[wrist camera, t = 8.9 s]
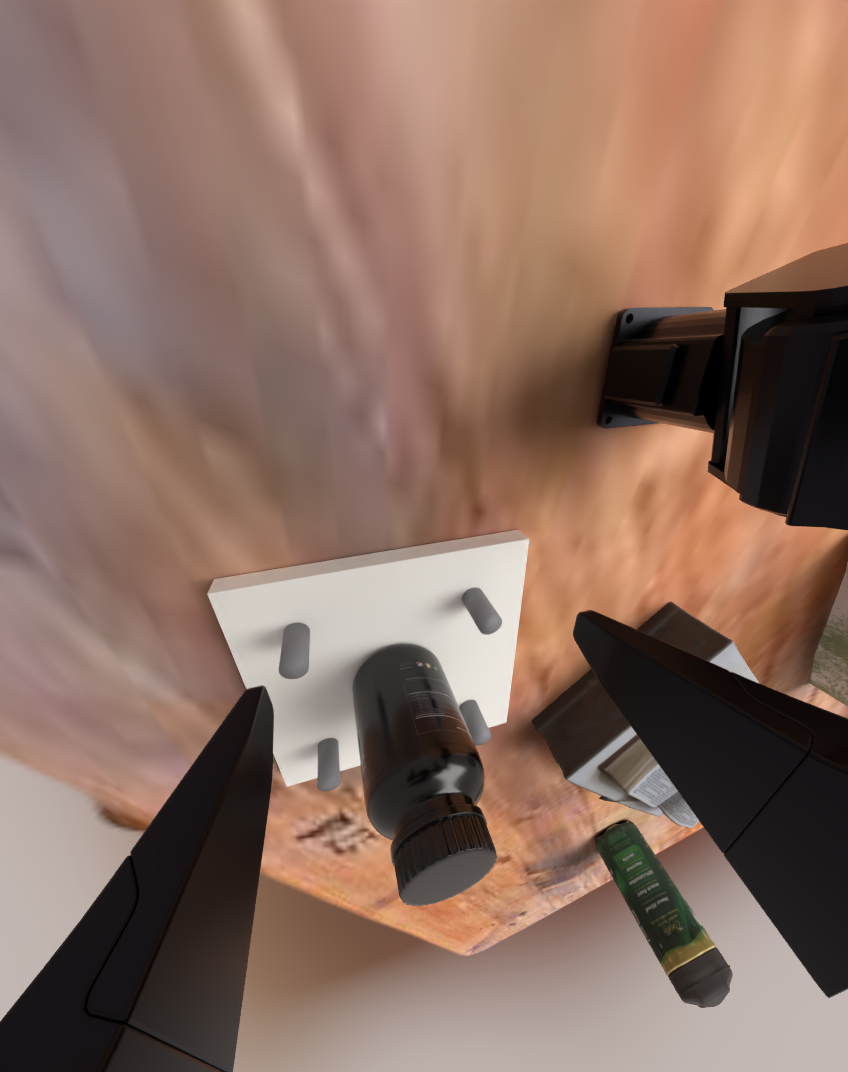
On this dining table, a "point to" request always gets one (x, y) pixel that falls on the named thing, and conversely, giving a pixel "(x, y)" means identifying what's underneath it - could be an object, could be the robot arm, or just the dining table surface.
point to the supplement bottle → (421, 774)
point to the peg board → (373, 637)
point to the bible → (628, 726)
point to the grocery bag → (834, 650)
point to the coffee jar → (665, 917)
